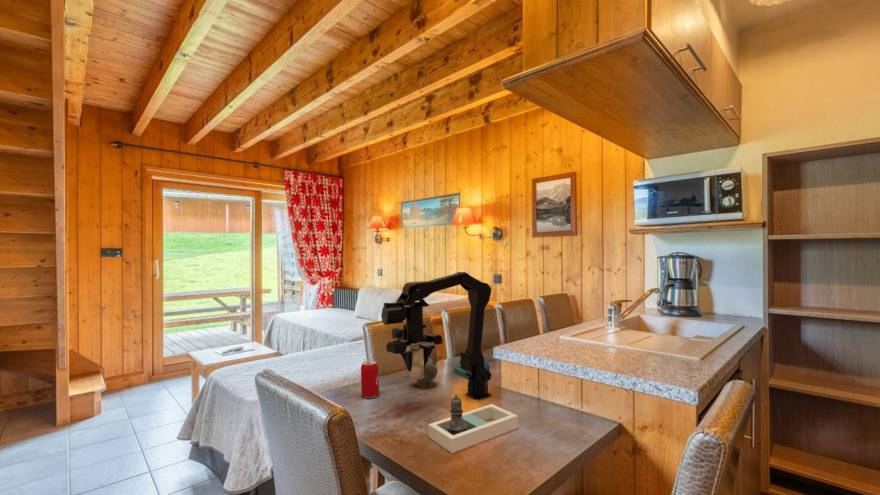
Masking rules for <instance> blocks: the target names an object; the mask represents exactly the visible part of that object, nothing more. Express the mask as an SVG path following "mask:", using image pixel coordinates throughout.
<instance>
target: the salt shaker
mask: <svg viewBox="0 0 880 495" xmlns="http://www.w3.org/2000/svg"><path fill="white" fill-rule="evenodd" d="M462 408H463V407H462V399H461V398H460V397H458V395H457V394H455V395H454V397H451V399H450V410H449V414H450V417H451V422H449V423H447V425H446V428H447V430H448V432H449V433H450V434H452V435H456V434H459V433H461V432H464V431H466V430H467V427H468V425H467V423H465V422H463V420H462V413H464V410H463V409H462Z"/></svg>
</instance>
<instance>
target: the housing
mask: <svg viewBox="0 0 880 495" xmlns="http://www.w3.org/2000/svg"><path fill="white" fill-rule="evenodd" d="M518 416H519V415H517V414H514V413H513V412H510V411H508V410H506V409H504V408H502V407H499V406H497V405H495V404H492V403H491V404H488V405H485V406H482V407H478V408H475V409H472V410H468V411H465V412H463V413H462V420H463V422H465V423H467V425H468V427H467V430H466V431H464V432H461V433H459V434H456V435H452V434H450V433H449V432H448V430H447V428H446V425H447V423H449V422H451V416H450V417H447V418H444V419H441V420H437V421H435V422H432V423H429V424H428V426H427V428H428V438H429V439H430V440H432V441H433V442H435V443H437V444H438V445H439V446H441V447H443V448H444V449H445V450H446V451H449V453H452V454H454V453H456V452H460V451H462V450H465V449H467V448H470V447H473V446H475V445H478V444H479V443H483V442H485V441H488V440H491V439H493V438H497V437H498V436H499V437H500V436H501V435H504V434H506V433H509V432H511V431H515V430H517V429H518V428H519V418H518ZM491 419H492V420H493V421H490V422H488V420H491Z"/></svg>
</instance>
